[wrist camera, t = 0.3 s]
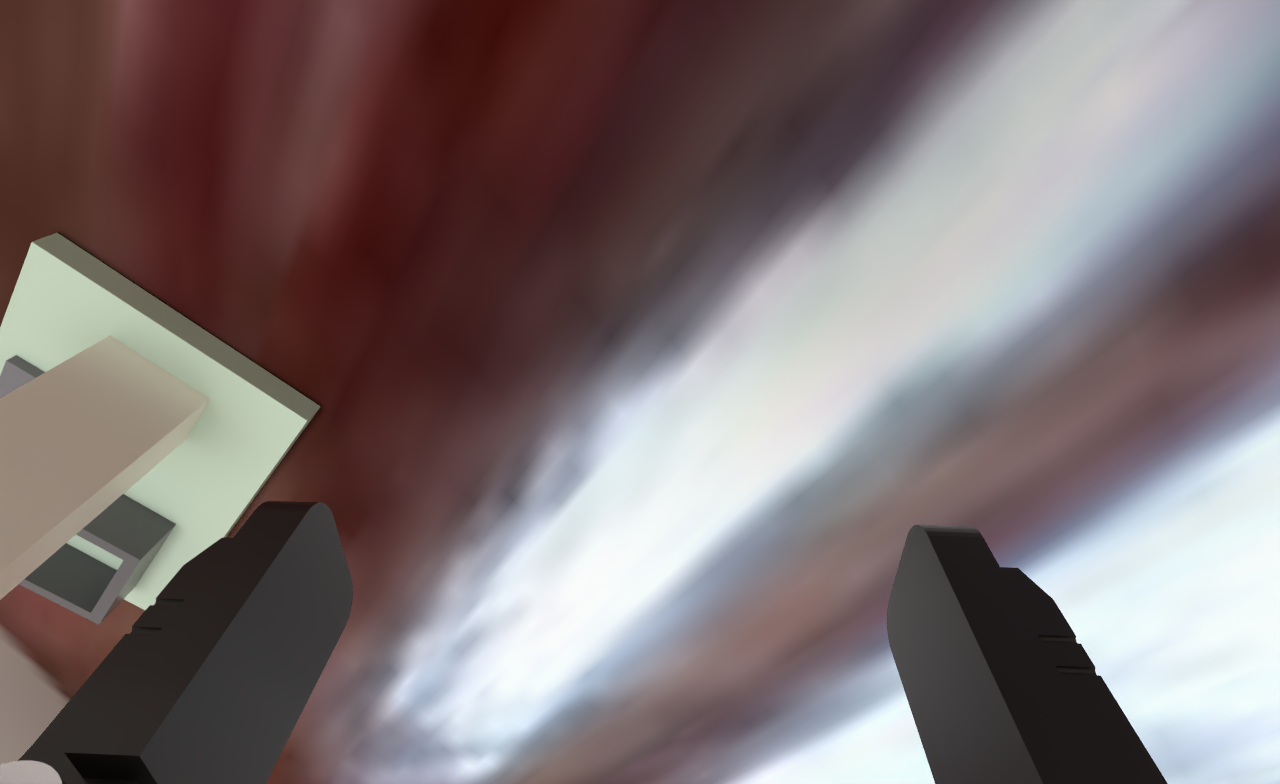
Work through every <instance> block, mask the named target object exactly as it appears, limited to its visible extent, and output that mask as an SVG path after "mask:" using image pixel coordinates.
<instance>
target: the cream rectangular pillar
mask: <svg viewBox="0 0 1280 784" xmlns="http://www.w3.org/2000/svg"><path fill="white" fill-rule="evenodd" d="M209 400H210V398H208V397H206V396H205V395H203V394H202V393H200V392H199V391H197V390H195V389H194V388H192V387H191V386H189V385H187V384H186V383H184V382H183V381H181V380H179V379H178V378H176V377H175V376H173V375H172V374H170V373H168V372H167V371H165V370H164V369H162V368H160V367H159V366H157V365H156V364H154V363H153V362H151V361H149V360H148V359H146V358H145V357H143V356H141V355H140V354H138V353H137V352H135V351H134V350H132V349H130V348H129V347H127V346H126V345H124V344H122V343H121V342H119V341H118V340H116V339H115V338H113V337H111V336H110V335H109V336H108V337H106V338H104V339H102V340H101V341H99V342H97V343H96V344H94V345H92V346H90V347H89V348H87V349H85V350H83V351H82V352H80V353H78V354H76V355H75V356H73V357H71V358H69V359H68V360H66V361H64V362H62V363H61V364H59V365H57V366H55V367H54V368H52V369H50V370H49V371H47V372H45V373H43V374H42V375H40V376H38V377H36V378H35V379H33V380H31V381H29V382H28V383H26V384H24V385H22V386H21V387H19V388H17V389H15V390H14V391H12V392H10V393H8V394H7V395H5V396H3V397H2V398H0V600H1V599H2V598H3V597H4V596H5V595H6V594H8V593H9V592H10V591H11V590H12V589H13V588H15V587H16V586H17V585H18V584H19V583H20V582H21V581H23V580H24V579H25V578H26V577H27V576H28V575H30V574H31V573H32V572H33V571H34V570H35V569H37V568H38V567H39V566H40V565H41V564H42V563H43V562H45V561H46V560H47V559H48V558H49V557H50V556H52V555H53V554H54V553H55V552H56V551H57V550H59V549H60V548H61V547H62V546H63V545H64V544H66V543H67V542H68V541H69V540H70V539H71V538H72V537H74V536H75V535H76V534H77V533H78V532H79V531H81V530H82V529H83V528H84V527H85V526H86V525H88V524H89V523H90V522H91V521H92V520H93V519H94V518H96V517H97V516H98V515H99V514H100V513H101V512H103V511H104V510H105V509H106V508H107V507H108V506H110V505H111V504H112V503H113V502H114V501H115V500H117V499H118V498H119V497H120V496H121V495H122V494H123V493H125V492H126V491H127V490H128V489H129V488H130V487H132V486H133V485H134V484H135V483H136V482H137V481H139V480H140V479H141V478H142V477H143V476H144V475H146V474H147V473H148V472H149V471H150V470H151V469H152V468H154V467H155V466H156V465H157V464H158V463H159V462H161V461H162V460H163V459H164V458H165V457H166V456H168V455H169V454H170V453H171V452H172V451H173V450H174V449H176V448H177V447H178V446H179V445H180V444H181V443H183V442H184V441H185V440H186V438H187V437H188V435H189V433H190V432H191V430H192V428H193V427H194V425H195V423H196V422H197V420H198V418H199V417H200V415H201V413H202V412H203V410H204V409H205V407H206V405H207V404H208V402H209Z"/></svg>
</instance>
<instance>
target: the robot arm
mask: <svg viewBox="0 0 1280 784" xmlns="http://www.w3.org/2000/svg"><path fill="white" fill-rule="evenodd" d="M352 597H353V586H352V580H351V576H350V572H349V569H348V566H347V562H346V559H345V555H344V552H343V549H342V545H341V542H340V538H339V535H338V532H337V528H336V525H335V521H334V518H333V515H332V512H331V510H330V508H329V507H328V506H327V505H326V504H324V503H317V502H288V501H267V502H264V503H262V504H261V505H260V506H259V507H258V508H257V509H256V510H255V511H254V512H253V514H252V515H251V516H250V517H249V519H248V520H247V521H246V522H245V524H244V525H243V526H242V527H241V529H240V530H239V531H238V533H237V534H236V535H235V536H234V538H221V539H219V540H218V541H217V542H215V543H214V544H212V545H211V546H210V547H208V548H207V549H205V550H204V551H203V552H201V553H200V554H198V555H197V556H196V557H194V558H193V559H191V560H190V561H189V562H187V563H186V564H184V565H183V566H182V567H181V569H180V570H179V571H178V572H177V573H176V575H175V576H174V577H173V578H172V579H171V581H170V582H169V583H168V584H167V585H166V587H165V588H164V589H163V590H162V591H161V592H160V594H159V595H158V596H157V597H156V602H155V604H154V605H150V606H149V607H148V608H147V609H146V610H145V612H144V613H143V614H142V615H141V616H140V618H139V619H138V620H137V621H136V622H135V623H134V625H133V626H132V632H131V633H130V634H125V635H124V637H123V638H122V639H121V640H120V641H119V643H118V644H117V645H116V646H115V647H114V649H113V650H112V651H111V652H110V653H109V654H108V656H107V657H106V658H105V659H104V660H103V662H102V663H101V664H100V665H99V666H98V668H97V669H96V670H95V671H94V672H93V674H92V675H91V676H90V677H89V678H88V680H87V681H86V682H85V683H84V684H83V685H82V687H81V688H80V689H79V690H78V691H77V693H76V694H75V695H74V696H73V697H72V699H71V700H70V701H69V702H68V703H67V705H66V706H65V707H64V708H63V709H62V710H61V712H60V713H59V714H58V715H57V716H56V718H55V719H54V720H53V721H52V722H51V724H50V725H49V726H48V727H47V728H46V730H45V731H44V732H43V733H42V734H41V736H40V737H39V738H38V739H37V740H36V741H35V743H34V744H33V745H32V746H31V747H30V748H29V750H27V752H26V753H25V754H24V755H23V756H22V757H21V758H20V759H19V760H18V761H15V762H7V763H4V764H0V784H265V783H266V781H267V780H268V778H269V776H270V774H271V772H272V770H273V768H274V766H275V764H276V762H277V760H278V758H279V756H280V754H281V752H282V750H283V748H284V746H285V744H286V742H287V740H288V738H289V736H290V734H291V732H292V730H293V728H294V726H295V724H296V722H297V720H298V718H299V716H300V714H301V712H302V711H303V709H304V707H305V705H306V703H307V701H308V699H309V697H310V695H311V693H312V691H313V689H314V687H315V685H316V683H317V681H318V679H319V677H320V675H321V673H322V671H323V669H324V667H325V665H326V663H327V661H328V659H329V657H330V655H331V653H332V651H333V649H334V647H335V645H336V643H337V642H338V640H339V638H340V636H341V634H342V632H343V630H344V628H345V625H346V623H347V621H348V618H349V614H350V610H351V605H352ZM887 630H888V638H889V643H890V647H891V651H892V654H893V657H894V660H895V663H896V666H897V669H898V672H899V675H900V678H901V681H902V684H903V687H904V690H905V693H906V696H907V699H908V702H909V705H910V708H911V711H912V714H913V717H914V720H915V723H916V726H917V729H918V732H919V735H920V738H921V742H922V745H923V748H924V751H925V754H926V757H927V760H928V763H929V766H930V769H931V772H932V775H933V778H934V781H935V784H1167V782H1166V780H1165V779H1164V777H1163V776H1162V774H1161V772H1160V771H1159V769H1158V767H1157V766H1156V764H1155V763H1154V761H1153V759H1152V758H1151V756H1150V755H1149V753H1148V751H1147V750H1146V748H1145V747H1144V745H1143V743H1142V742H1141V740H1140V738H1139V737H1138V735H1137V734H1136V732H1135V730H1134V729H1133V727H1132V726H1131V724H1130V722H1129V721H1128V719H1127V718H1126V716H1125V714H1124V713H1123V711H1122V710H1121V708H1120V706H1119V705H1118V703H1117V701H1116V700H1115V698H1114V697H1113V695H1112V693H1111V692H1110V690H1109V689H1108V687H1107V685H1106V684H1105V682H1104V681H1103V679H1102V677H1101V676H1097V675H1096V673H1095V666H1094V664H1093V663H1092V661H1091V660H1090V658H1089V656H1088V655H1087V653H1086V652H1085V650H1084V648H1083V647H1082V645H1081V644H1077V642H1076V635H1075V634H1074V632H1073V631H1072V629H1071V627H1070V626H1069V624H1068V623H1067V621H1066V619H1065V618H1064V616H1063V614H1062V613H1061V611H1060V610H1059V608H1058V606H1057V605H1056V603H1055V602H1054V600H1053V599H1052V598H1051V597H1050V596H1049V595H1048V594H1046V593H1045V592H1044V591H1043V590H1042V589H1041V588H1040V587H1039V586H1037V585H1036V584H1035V583H1034V582H1033V581H1032V580H1031V579H1030V578H1028V577H1027V576H1026V575H1025V574H1024V573H1023V572H1022V571H1021V570H1020V569H1018V568H1004V567H999V565H998V563H997V561H996V559H995V558H994V556H993V554H992V552H991V551H990V549H989V547H988V545H987V543H986V542H985V540H984V538H983V537H982V535H981V533H980V532H979V531H978V530H977V529H975V528H974V527H967V526H937V525H914V526H913V527H912V528H911V529H910V531H909V533H908V536H907V539H906V542H905V546H904V549H903V553H902V556H901V560H900V563H899V567H898V570H897V574H896V577H895V581H894V584H893V588H892V591H891V595H890V598H889V602H888V608H887Z"/></svg>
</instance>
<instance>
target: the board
mask: <svg viewBox="0 0 1280 784" xmlns="http://www.w3.org/2000/svg"><path fill="white" fill-rule="evenodd" d="M109 335H110V336H111V337H113V338H115V339H116V340H118V341H119V342H121V343H122V344H124V345H126V346H127V347H129V348H130V349H132V350H134V351H135V352H137V353H138V354H140V355H141V356H143V357H145V358H146V359H148V360H149V361H151V362H153V363H154V364H156V365H157V366H159V367H160V368H162V369H164V370H165V371H167V372H168V373H170V374H172V375H173V376H175V377H176V378H178V379H179V380H181V381H183V382H184V383H186V384H187V385H189V386H191V387H192V388H194V389H195V390H197V391H199V392H200V393H202V394H203V395H205V396H206V397H208V398H210V400H209V402H208V404H207V405H206V407H205V409H204V410H203V412H202V413H201V415H200V417H199V418H198V420H197V422H196V423H195V425H194V427H193V428H192V430H191V432H190V433H189V435H188V437H187V438H186V440H185V441H184V442H183V443H181V444H180V445H179V446H178V447H177V448H176V449H174V450H173V451H172V452H171V453H170V454H169V455H168V456H166V457H165V458H164V459H163V460H162V461H161V462H159V463H158V464H157V465H156V466H155V467H154V468H152V469H151V470H150V471H149V472H148V473H147V474H146V475H144V476H143V477H142V478H141V479H140V480H139V481H137V482H136V483H135V484H134V485H133V486H132V487H130V488H129V489H128V490H127V491H126V492H125V493H123V494H122V495H121V496H120V497H119V498H118V499H117V500H115V501H114V502H113V503H112V504H111V505H110V506H108V507H107V508H106V509H105V510H104V511H103V512H101V513H100V514H99V515H98V516H97V517H96V518H94V519H93V520H92V521H91V522H90V523H89V524H88V525H86V526H85V527H84V528H83V529H82V530H81V531H79V532H78V533H77V534H76V535H75V536H74V537H72V538H71V539H70V540H69V541H68V542H67V543H66V544H64V545H63V546H62V547H61V548H60V549H59V550H57V551H56V552H55V553H54V554H53V555H52V556H50V557H49V558H48V559H47V560H46V561H45V562H43V563H42V564H41V565H40V566H39V567H38V568H37V569H35V570H34V571H33V572H32V573H31V574H30V575H28V576H27V577H26V578H25V579H24V580H23V581H21V582H20V583H19V585H21V586H23V587H25V588H27V589H29V590H31V591H33V592H35V593H37V594H39V595H41V596H43V597H45V598H47V599H49V600H51V601H53V602H55V603H57V604H59V605H61V606H63V607H65V608H67V609H69V610H71V611H73V612H75V613H77V614H79V615H81V616H83V617H85V618H87V619H89V620H91V621H93V622H95V623H97V624H98V625H99V624H100V623H101V622H102V621H103V620H104V619H105V618H106V617H107V616H108V615H109V614H110V613H111V612H112V611H113V610H114V609H115V607H116V606H117V605H118V604H119V603H120V602H121V601H122V600H123V599H125V600H126V601H128V602H130V603H132V604H134V605H136V606H138V607H140V608H142V609H144V610H146V609H147V608H148V607H149V606H150V605H154V604H155V602H156V597H157V596H158V595H159V594H160V592H161V591H162V590H163V589H164V588H165V587H166V585H167V584H168V583H169V582H170V581H171V579H172V578H173V577H174V576H175V575H176V573H177V572H178V571H179V570H180V569H181V567H182V566H183V565H184V564H186V563H187V562H189V561H190V560H191V559H193V558H194V557H196V556H197V555H198V554H200V553H201V552H203V551H204V550H205V549H207V548H208V547H210V546H211V545H212V544H214V543H215V542H217V541H218V540H219V539H221V538H226V537H227V535H228V534H229V533H230V531H231V530H232V528H233V527H234V526H235V524H236V523H237V522H238V520H239V519H240V517H241V516H242V515H243V513H244V512H245V510H246V509H247V508H248V506H249V505H250V504H251V502H252V501H253V499H254V498H255V497H256V495H257V494H258V493H259V491H260V490H261V488H262V487H263V486H264V484H265V483H266V481H267V480H268V479H269V477H270V476H271V475H272V473H273V472H274V470H275V469H276V468H277V466H278V465H279V463H280V462H281V461H282V459H283V458H284V457H285V455H286V454H287V452H288V451H289V450H290V448H291V447H292V446H293V444H294V443H295V441H296V440H297V439H298V437H299V436H300V434H301V433H302V432H303V430H304V429H305V428H306V426H307V425H308V423H309V422H310V421H311V419H312V418H313V416H314V415H315V414H316V412H317V411H318V410H319V408H320V407H321V406H319V405H318V404H316V403H315V402H313V401H312V400H310V399H309V398H307V397H305V396H304V395H302V394H301V393H299V392H298V391H296V390H295V389H293V388H292V387H290V386H289V385H287V384H286V383H284V382H283V381H281V380H280V379H278V378H277V377H275V376H274V375H272V374H271V373H269V372H268V371H266V370H265V369H263V368H262V367H260V366H259V365H257V364H255V363H254V362H252V361H251V360H249V359H248V358H246V357H245V356H243V355H242V354H240V353H239V352H237V351H236V350H234V349H233V348H231V347H230V346H228V345H227V344H225V343H224V342H222V341H221V340H219V339H218V338H216V337H215V336H213V335H212V334H210V333H208V332H207V331H205V330H204V329H202V328H201V327H199V326H198V325H196V324H195V323H193V322H192V321H190V320H189V319H187V318H186V317H184V316H183V315H181V314H180V313H178V312H177V311H175V310H174V309H172V308H171V307H169V306H168V305H166V304H165V303H163V302H162V301H160V300H158V299H157V298H155V297H154V296H152V295H151V294H149V293H148V292H146V291H145V290H143V289H142V288H140V287H139V286H137V285H136V284H134V283H133V282H131V281H130V280H128V279H127V278H125V277H124V276H122V275H121V274H119V273H118V272H116V271H115V270H113V269H111V268H110V267H108V266H107V265H105V264H104V263H102V262H101V261H99V260H98V259H96V258H95V257H93V256H92V255H90V254H89V253H87V252H86V251H84V250H83V249H81V248H80V247H78V246H77V245H75V244H74V243H72V242H71V241H69V240H68V239H66V238H65V237H63V236H61V235H60V234H58V233H55V234H52V235H49V236H47V237H44V238H41V239H39V240H36V241H33V242H32V243H31V246H30V248H29V251H28V254H27V257H26V259H25V262H24V265H23V267H22V270H21V273H20V276H19V278H18V281H17V284H16V287H15V289H14V292H13V295H12V297H11V300H10V303H9V306H8V308H7V311H6V314H5V316H4V319H3V322H2V325H1V327H0V398H2V397H3V396H5V395H7V394H8V393H10V392H12V391H14V390H15V389H17V388H19V387H21V386H22V385H24V384H26V383H28V382H29V381H31V380H33V379H35V378H36V377H38V376H40V375H42V374H43V373H45V372H47V371H49V370H50V369H52V368H54V367H55V366H57V365H59V364H61V363H62V362H64V361H66V360H68V359H69V358H71V357H73V356H75V355H76V354H78V353H80V352H82V351H83V350H85V349H87V348H89V347H90V346H92V345H94V344H96V343H97V342H99V341H101V340H102V339H104V338H106V337H108V336H109Z"/></svg>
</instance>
